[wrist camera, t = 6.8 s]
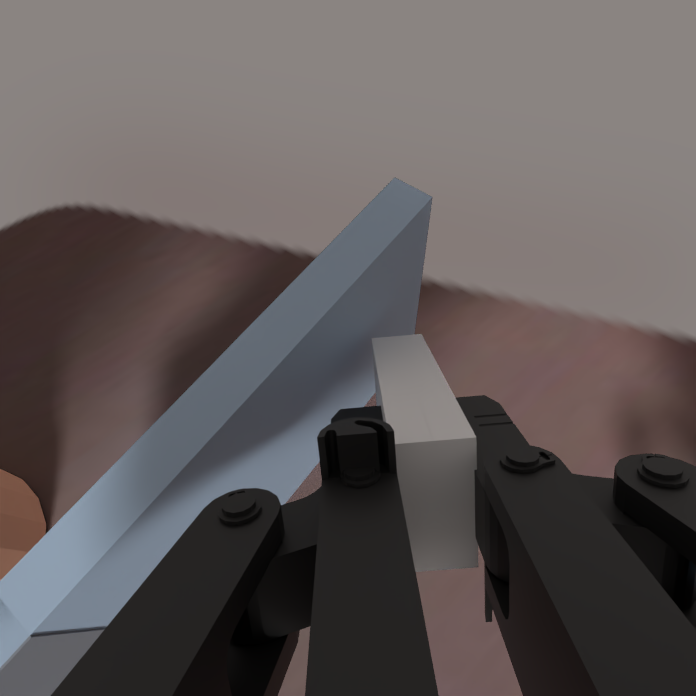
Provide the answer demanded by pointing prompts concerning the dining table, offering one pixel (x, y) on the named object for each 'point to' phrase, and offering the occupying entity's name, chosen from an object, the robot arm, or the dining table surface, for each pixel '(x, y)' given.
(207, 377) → the light blue rectangular panel
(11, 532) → the pepper shaker
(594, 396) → the dining table surface
